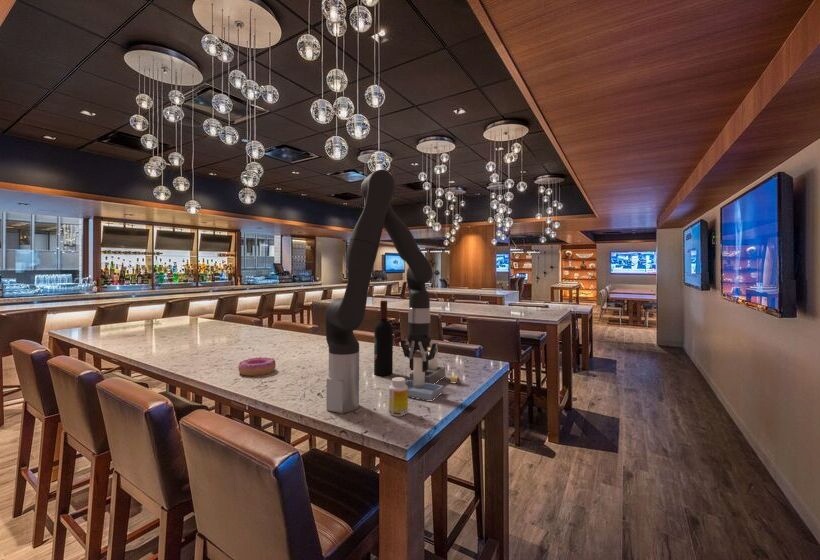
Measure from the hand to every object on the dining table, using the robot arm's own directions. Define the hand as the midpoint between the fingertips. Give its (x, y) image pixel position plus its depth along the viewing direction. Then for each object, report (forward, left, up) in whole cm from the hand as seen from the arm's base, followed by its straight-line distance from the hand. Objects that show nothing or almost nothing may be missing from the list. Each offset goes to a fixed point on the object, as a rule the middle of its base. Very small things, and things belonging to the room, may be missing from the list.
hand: (419, 370), depth 124 cm
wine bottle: (+14, +24, -8) cm, 29 cm away
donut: (-9, +71, -9) cm, 71 cm away
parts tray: (0, 0, -8) cm, 8 cm away
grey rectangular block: (+15, +4, -8) cm, 17 cm away
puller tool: (+20, -5, -8) cm, 22 cm away
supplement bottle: (-19, -2, -8) cm, 21 cm away
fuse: (+19, +4, -8) cm, 21 cm away
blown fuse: (0, 0, -6) cm, 6 cm away
